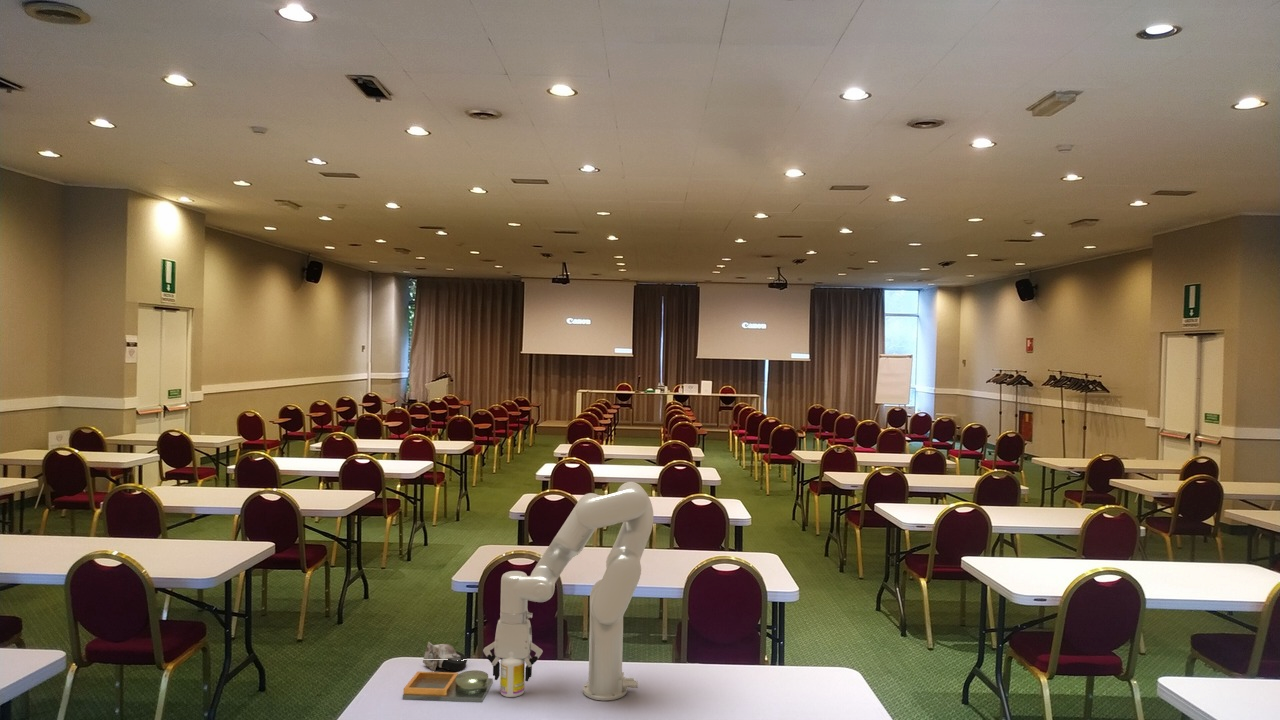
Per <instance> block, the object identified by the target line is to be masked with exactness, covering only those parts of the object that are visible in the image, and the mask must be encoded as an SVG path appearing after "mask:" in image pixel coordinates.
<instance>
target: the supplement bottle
mask: <svg viewBox="0 0 1280 720" xmlns="http://www.w3.org/2000/svg"><path fill="white" fill-rule="evenodd" d="M513 655H514V653H513V652H510V653H509V656H511V657H509V658H500V684H499V685H500V686H499V687H500V694H501V695H502V696H503V697H504V698H517V697H519V696H521V695H523V694H524V692H525V668H526V666H525V664H526V663H525V661H524V659H517V658H513V657H512V656H513Z"/></svg>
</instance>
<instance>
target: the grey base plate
mask: <svg viewBox="0 0 1280 720" xmlns="http://www.w3.org/2000/svg"><path fill="white" fill-rule="evenodd" d="M493 683H494V678H489V674H488V672H486V671H484V670H483V671H482V670H475V669H474V670H466V671H463V672H460V673H459V672H446V671H444V672H442V671H435V672H433V671H416V673H415V674H414V675H413V677H412V678H411V679H410V680H409V681H408V683H407V684H406V685H405V686H404V687H403V694H402V700H405V701H406V700H410V701H411V700H412V701H432V702H433V701H438V702H439V701H440V702H461V703H462V702H464V703H465V702H466V703H468V702H470V703H483V701H484V700H483V699H485V698H486V696H487V694H488V692H489V691H488V690H490V689H491V687H492V684H493ZM484 697H485V698H484Z"/></svg>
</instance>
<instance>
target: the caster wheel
mask: <svg viewBox="0 0 1280 720" xmlns="http://www.w3.org/2000/svg"><path fill="white" fill-rule="evenodd" d="M423 659H448V660H422V663H423V664H424V665H425V666H427V668H429V669H430V670H431V672H433V671H435V672H436V668H437V667H439V668H440V669H444V670H447V671H451V672H452V671H453V672H461V671H463V670H465V668H466V665H467V662H468V657H467V656H466V655H465V654H464V653H462V652H459V651H456V650H455V648H454V647H453V646H452V645H451V644H447V643H440V644H433V643H431V642H430V641H428V642H427V646H426V649H425V651H424V657H423ZM463 659H467V660H464V661H461V660H463ZM457 660H458V661H457ZM460 670H461V671H460Z"/></svg>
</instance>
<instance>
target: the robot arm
mask: <svg viewBox="0 0 1280 720" xmlns="http://www.w3.org/2000/svg"><path fill="white" fill-rule="evenodd" d="M620 523H622V525H621V527H620V529H619V531H618V534H617V537H616V539H615V542H614V543H613V546H612V547H611V549H610V551H609V553H608V555H607V557H606V562H605V563H606V564H605V567H606V569H605V571H604V574H603V577H602V578H601V579H599V580H597V581H596V582H595V583H594V584H593V586H592V587H591V589H590V593H589V637H588V641H589V642H588V644H589V645H588V647H589V650H588V651H589V652H588V681H587V682H586V683H584V685H583V686H582V693H583V694H584V695H585V696H586V697H587V698H590V699H592V700H595V701H602V702H603V701H606V702H607V701H615V700H619V699H621V698H623V697H624V696H625V695H627V693H628V688H631V689H638V683H639V682H638V680H635V678H633V677H626V676H624V672H623V647H624V644H623V643H624V642H623V641H624V638H623V637H624V615H625V612H627V609H628V607H629V605H630V602H631V600H632V597H633V596H634V593H635V591H636V589H637V586H638V584H639V582H640V579H641V575H642V564H641V559H642V556H643V553H644V551H645V549H646V546H647V544H648V542H649V539H650V536H651V533H652V530H653V525H654V509H653V503H652V501H651V499H650V496H649V495H648V493H647V492H646V490H645V489H644V488H643V487H642V486H641V485H640V484H639V483H636V482H635V481H626V482H625V483H622V484H621V485H620V486H619V488H617V491H616V492H612V493H609V494H605V495H599V494H598V493H594V492H593V493H592V492H589V493H585V494H584V495H582V496H581V498H579V500H578V501H577V502H576V505H575V506H574V507H573V509H572V511H571V512H570V514H569V515H568V516H567V518H566V520H565V521H564V523H563V524H562V526H561V527H560V529H559V530H558V532H557V533H556V535H555V536H554V537H553V539H552V541H551V543H550V544H549V546H548V547H547V548H546V550H545V551H544V553H543V554H542V556H541V557H540V558H539V561H538V562H537V563H536V564H535V567H534V568H533V570H532V571H531V573H530V575H527V573H526V572H524V571H521V570H510V571H506V572H505V573H503V574H502V575H501V579H500V605H499V606H500V613H499V615H500V617H499V619H497V624H496V630H495V634H494V635H495V637H494V641H493V642H492V643H490V644H488V645H487V646H485V647H484V648H483V650H482V652H483V654H484V655H485V657H486V659H487V660H488V661H489V662H490V663H491V665H492V676H494V681H498V679H499V677H501V662H500V661H499V660H501V659H502V658H509V657H511V656H509V653H510V652H513V653H514V655H513V656H512V657H513V658H517V659H524V661H525V664H526V666H525V668H524V682H525V681H526V682H529V680H530V678H531V677H532V675H533V671H532V670H533V665H534V664H535V663H536V662H537V661H538V660H539V658H540V657H541V655H542V654H543V652H544V651H543V649H542V648H540V647H539V646H538V645H536V644H535V643H533V635H532V634H533V633H532V625H531V621H530V619H532V618H533V612H530V611H529V610H528V602H529V601H530V602H534V603H536V602H537V603H544V602H545V603H546V602H547V601H549V600H551V598H552V597H553V595H554V593H555V589H556V588H555V586H556V582H557V581H558V579H559V577H560V576H561V574H562V572H563V571H564V569H565V568H566V566H567V565H568V564H569V562H570V561H571V560H572V559H574V558H575V557H576V556H578V555H579V554H580V553H581V552H582V551H583V549H584V548H585V546H586V545H587V543H588V542H589V540H590V538H591V537H592V536H593V534H594V532H595V531H596V530H597V529H601V528H605V527H609V526H610V527H611V526H614V525H616V524H620ZM492 650H494V651H493V653H492V652H491V651H492ZM532 652H534V653H535V654H534V655H533V656H531V653H532Z"/></svg>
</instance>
